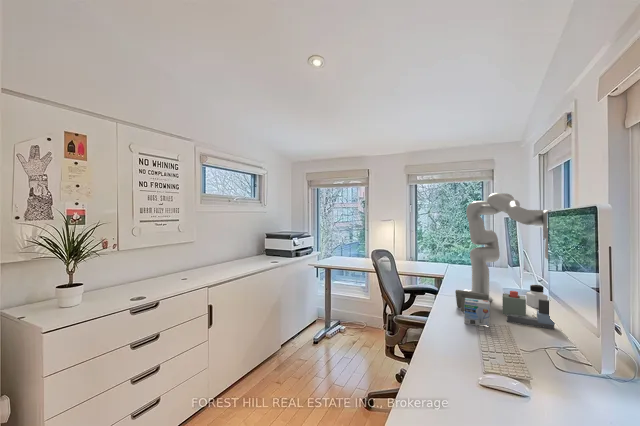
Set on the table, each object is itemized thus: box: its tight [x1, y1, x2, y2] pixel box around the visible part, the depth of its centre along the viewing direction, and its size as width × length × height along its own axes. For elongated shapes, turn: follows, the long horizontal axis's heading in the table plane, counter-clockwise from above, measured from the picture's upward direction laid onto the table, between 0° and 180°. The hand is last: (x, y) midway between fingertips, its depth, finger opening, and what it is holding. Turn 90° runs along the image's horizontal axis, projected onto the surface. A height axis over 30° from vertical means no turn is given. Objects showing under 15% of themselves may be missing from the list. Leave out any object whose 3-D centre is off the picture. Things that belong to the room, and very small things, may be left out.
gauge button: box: [509, 290, 519, 298], centre depth 154 cm, size 4×4×4 cm
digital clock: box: [455, 289, 490, 313], centre depth 159 cm, size 16×9×11 cm, turn 39°
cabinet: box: [502, 293, 527, 316], centre depth 154 cm, size 10×8×9 cm
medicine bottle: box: [525, 284, 549, 309], centre depth 167 cm, size 7×7×12 cm
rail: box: [506, 313, 555, 331], centre depth 139 cm, size 18×4×3 cm, turn 57°
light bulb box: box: [463, 298, 491, 327], centre depth 141 cm, size 11×7×11 cm, turn 62°
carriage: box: [536, 299, 556, 326], centre depth 136 cm, size 6×7×10 cm
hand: (553, 271), depth 141 cm, fingers open, 9 cm apart
